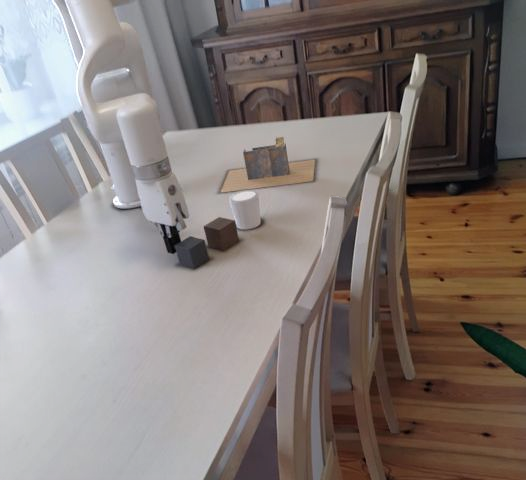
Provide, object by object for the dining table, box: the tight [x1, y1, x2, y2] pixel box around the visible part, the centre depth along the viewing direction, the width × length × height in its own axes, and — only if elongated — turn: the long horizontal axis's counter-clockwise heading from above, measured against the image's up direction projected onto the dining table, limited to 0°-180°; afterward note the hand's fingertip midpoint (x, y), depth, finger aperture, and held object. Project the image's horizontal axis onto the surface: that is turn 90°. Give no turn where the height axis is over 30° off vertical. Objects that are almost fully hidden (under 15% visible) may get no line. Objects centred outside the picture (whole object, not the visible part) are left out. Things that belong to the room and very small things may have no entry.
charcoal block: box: [175, 235, 210, 270], centre depth 121 cm, size 5×5×5 cm
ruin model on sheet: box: [220, 135, 316, 193], centre depth 154 cm, size 25×16×10 cm, turn 84°
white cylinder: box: [228, 189, 262, 231], centre depth 131 cm, size 7×7×7 cm
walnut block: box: [203, 216, 240, 252], centre depth 126 cm, size 5×5×5 cm
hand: (175, 250), depth 125 cm, fingers closed
